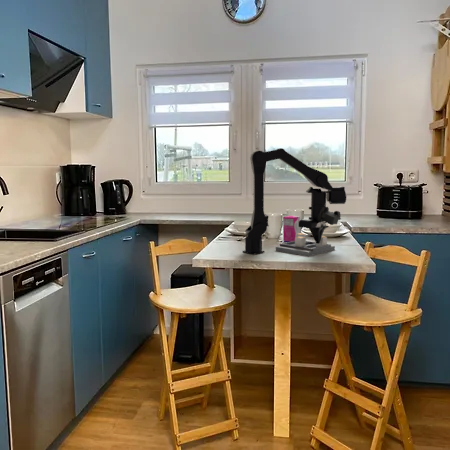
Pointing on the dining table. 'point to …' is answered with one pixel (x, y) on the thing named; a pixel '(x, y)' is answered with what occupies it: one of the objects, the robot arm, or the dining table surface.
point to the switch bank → (304, 248)
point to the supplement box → (290, 228)
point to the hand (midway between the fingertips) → (317, 243)
